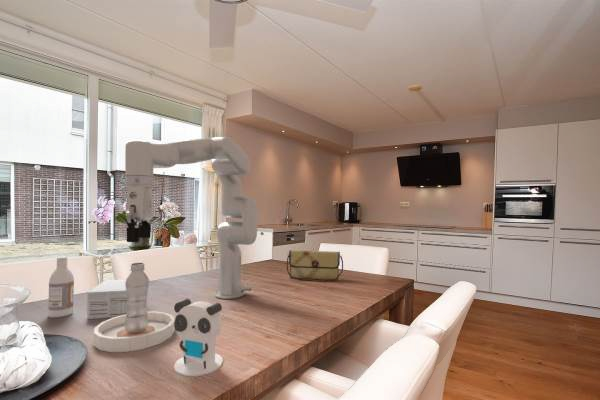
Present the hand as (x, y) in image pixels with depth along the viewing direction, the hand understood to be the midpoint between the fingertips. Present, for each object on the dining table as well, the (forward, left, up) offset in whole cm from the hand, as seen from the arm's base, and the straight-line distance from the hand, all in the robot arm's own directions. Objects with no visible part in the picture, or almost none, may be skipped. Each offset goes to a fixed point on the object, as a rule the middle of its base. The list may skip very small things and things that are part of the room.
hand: (139, 239), depth 95 cm
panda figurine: (-21, +19, -29) cm, 40 cm away
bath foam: (+32, -21, -29) cm, 48 cm away
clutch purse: (-66, -64, -29) cm, 96 cm away
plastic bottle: (0, 0, -27) cm, 27 cm away
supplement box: (+16, -24, -29) cm, 41 cm away
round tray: (0, 0, -28) cm, 28 cm away
